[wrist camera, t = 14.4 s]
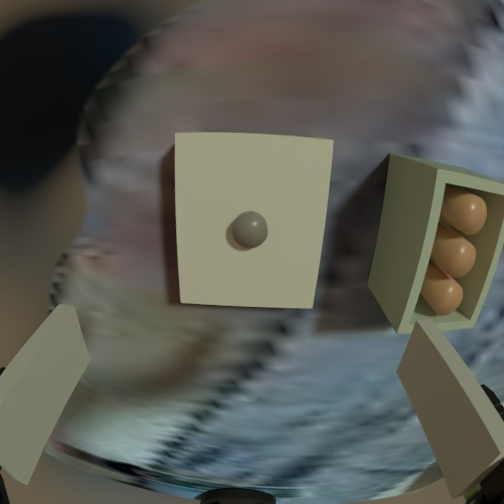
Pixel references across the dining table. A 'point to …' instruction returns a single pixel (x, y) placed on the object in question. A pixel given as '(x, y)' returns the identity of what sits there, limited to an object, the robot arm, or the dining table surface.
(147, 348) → the dining table surface
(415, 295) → the tub
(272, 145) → the lid
